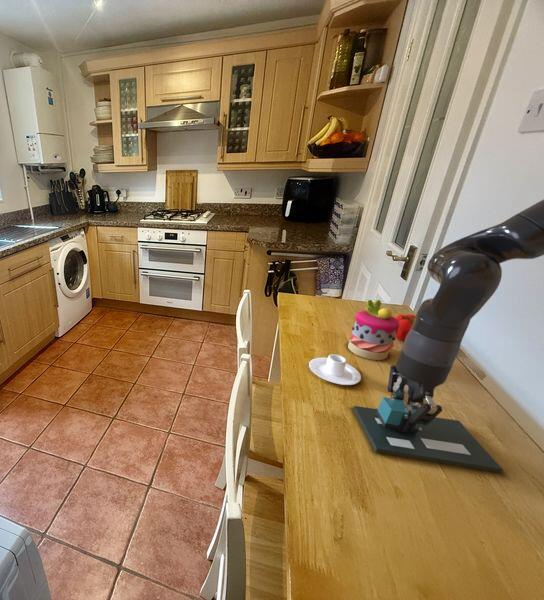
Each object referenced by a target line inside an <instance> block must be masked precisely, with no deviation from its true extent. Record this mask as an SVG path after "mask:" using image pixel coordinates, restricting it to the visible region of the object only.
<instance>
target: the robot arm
mask: <svg viewBox="0 0 544 600" xmlns="http://www.w3.org/2000/svg"><path fill="white" fill-rule="evenodd" d="M542 256H544V199H540V200H539V201H538V202H536V203H534V204H532V205H530V206H529V207H527V208H525V209H523V210H521V211H519V212H517V213H515V214H514V215H512V216H511V217H509V218H507V219H506V220H504V221H503V222H500V223H498V224H495V225H493V226H490V227H487V228H484V229H482V230H479V231H476V232H474V233H471V234H469V235H467V236H464V237H461V238H459V239H457V240H455V241H452V242H450V243H449V244H447V245H445V246H444V247H441V248H440V249H439V250H437V251H436V252H435V253H434V254H433V255H432V256H431V257H430V258H429V261H428V262H427V267H426V268H427V272H428V275H429V276H430V278H432V279H433V280H434V281H435V282H437V283H438V284H439V287H438V290H437V291H436V293H435V295H434V296H433V297H431V298H427V299H425V300H423V301H422V302H421V304H420V305H419V306H418V309H417V312H416V314H415V316H416V317H415V319H414V322H413V325H412V327H411V329H410V331H409V332H408V334H407V336H406V338H405V341H403V344H402V346H401V349H400V351H399V354H398V357H397V360H396V363H395V365H393V364H392V365H391V366H390V368H389V375H388V382H387V388H386V389H387V393H390V397H389V398H391V399H397V400H403V405H404V406H405V410H404V416H403V417H402V419H401V422H400V424H399V427H398V430H399V432H400V433H406V434H411V433H413V430H414V428H415V426H416V424H421V425H428V424H429V423H430V422H431V421H432V420H433V419H434V418H435V417H437V416H439V415H440V414H441V413H442V411H443V408H442V405H440V404H436V403H435V402H434V400H433V398H434V396H435V388H437V387H438V386H441V385H443V384H444V383H445V382H446V381H447V379H448V376H449V374H450V372H451V370H452V368H453V365H454V363H455V361H456V359H457V357H458V354H459V353H460V349H461V345H462V341H463V339H464V337H465V335H466V332H467V331H468V328H469V325H470V323H471V320H472V319H473V318H474V316H476V315H477V314H478V313H479V312H480V310H482V308H483V307H484V306H485V304H487V302H488V301H489V300H491V298H492V296H493V295H494V294H495V293H496V292H497V290H498V288H499V286H500V284H501V281H502V276H503V269H502V265H501V264H502V263H504V262H508V261H512V260H533V259H537V258H540V257H542ZM410 402H415V403H416V404H414V403H410ZM412 409H415V410H416V411H415V412H414V413H413V414H412V413H411V410H412Z"/></svg>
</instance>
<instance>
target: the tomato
mask: <svg viewBox="0 0 544 600" xmlns="http://www.w3.org/2000/svg"><path fill="white" fill-rule="evenodd" d="M415 317H416V315H415V314H410V313H409V314H398V315H397V316H395V318H396V319H397V320H398V321H399V323H400V325H399V328H398V331H397V334H396V333H395V336H394V337H395V339H396V340H399V341H400V342H401V341H402V342H404V341H405V338H406V336H407V334H408V332H409V331H410V329H411V327H412V325H413V322H414V319H415Z"/></svg>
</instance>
